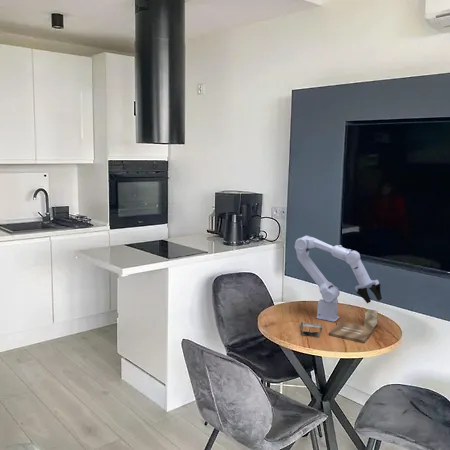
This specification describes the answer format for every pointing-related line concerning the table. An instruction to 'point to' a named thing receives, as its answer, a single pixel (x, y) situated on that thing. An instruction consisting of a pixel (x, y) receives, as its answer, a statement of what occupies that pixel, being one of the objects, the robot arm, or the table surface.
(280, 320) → the table surface
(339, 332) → the walnut board
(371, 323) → the block
